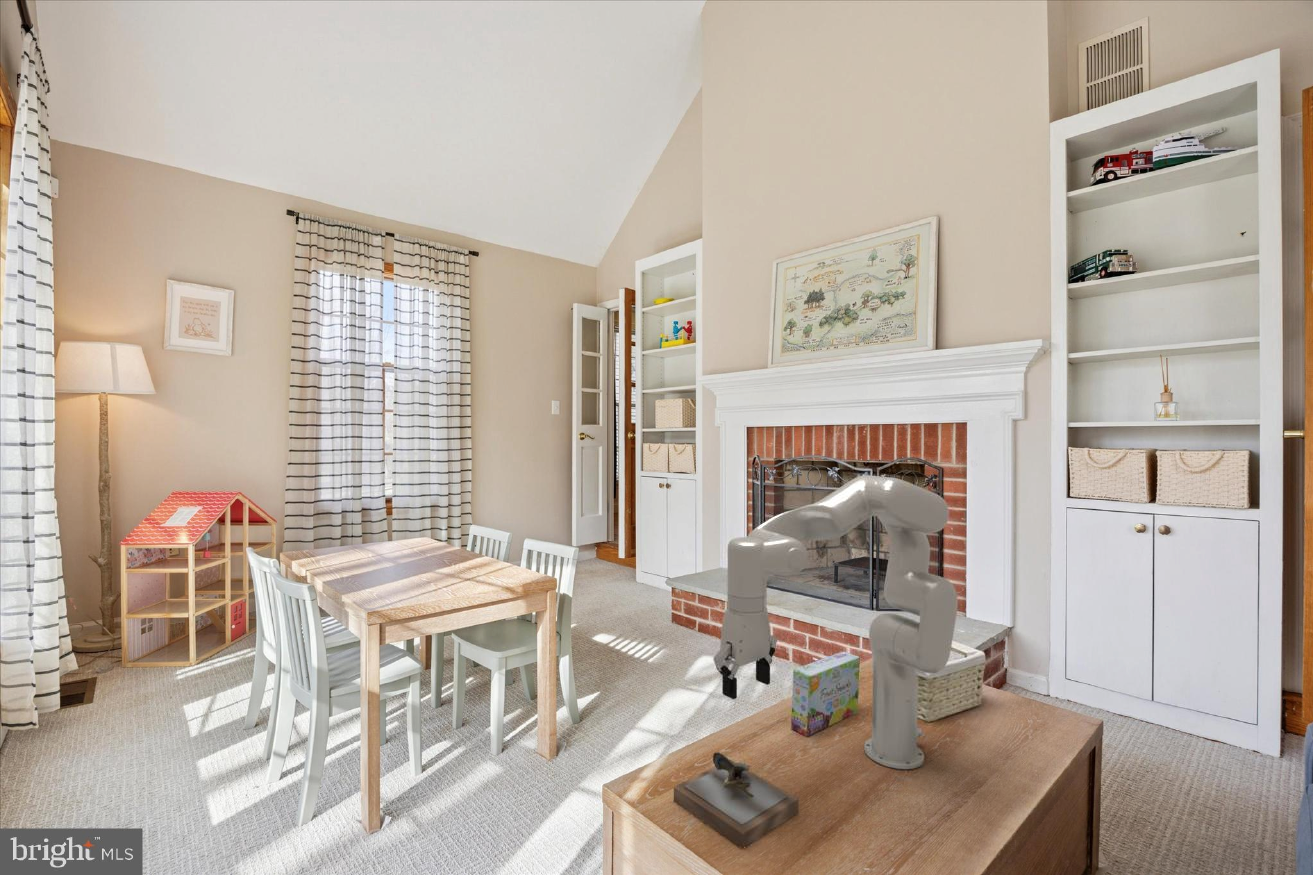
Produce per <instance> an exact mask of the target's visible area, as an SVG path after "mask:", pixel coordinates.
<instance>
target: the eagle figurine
mask: <svg viewBox="0 0 1313 875" xmlns="http://www.w3.org/2000/svg"><path fill="white" fill-rule="evenodd" d="M729 759H730V758H728V757H727V756H725V755H724V754H722V753H720V752H714V753H713V755H712V761H713V762H712V763H713V765H714V767H716V768H717V770H722V769H723V770H726V771H728V773H729V775H728V778H727V779H726V780H725V781H724V785H723V787H724V786H725V785H731V786H733V787H734V786H735V787H738V788H741V789H742V790H743V791H744V792H745V793H746V794H747V795H749V796H752V797H753V795H752V794H751V793H749V792H748V791H747V790H746V789H745V788H747V787H749V786H750V784H751V783H746V782H745V783H742V782H743V780H744V779H746V778H747V777H746V776H743V777H742V776H741V774H742V772H743V771H747V770H749V771H750V769H751V766H750V765H748V764H746V763H744V762H743V763H742V762H735V763H734V764H733V763H732V762H731V761H730V760H731V759H730V760H729Z"/></svg>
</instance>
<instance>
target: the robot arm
mask: <svg viewBox="0 0 1313 875" xmlns="http://www.w3.org/2000/svg"><path fill="white" fill-rule="evenodd" d="M870 517H876V518H877V519H878V520H879V521H880V523H881V524H882V526H883V527H884V529H885V530H886V533H887V536H888V539H889V554H888V562H887V567H886V574H885V580H884V587H883V598H884V599H885V601H886V602H887V604H888V605H890V606H891V607H893V608H895V609H898V610H901V611H904V612H906V613H909V614H913V615H915V616H917V617H919V621H916V620H914V619H911V618H909V617H906V616H903V615H899V614H896V613H890V612H889V613H888V612H887V613H882V614H879V615H878V616H876V617H875V618H874V619H873V620H872V622H871V623H870V627H869V630H868V639H869V646H870V649H871V650H870V651H871V656H872V703H871V704H872V710H871V712H872V713H871V714H872V715H871V737H870V738H868V739H866V741H865V742H864V752H865V754H866V755H867V756H868V757H869V758H870V759H871V760H873V762H875V763H878V764H880V765H883V766H885V767H888V768H892V769H898V770H913V769H916V768H919V767H920V766H922V765H924V762H925V755H924V752H923V750H922V749H921V748H920V747H919V746H918V744H917V743H918V739H919V738H920V737H921V736H923V735H924V731H923V729H922V728H921V727H918V718H917V713H918V677H917V673H916V669H918V670H921V671H923V672H926V673H937V672H940V671H941V670H942V669H943V668H944V667H945V665H946V664H947V662H948V659H949V658H950V655H951V646H952V641H954V640H953V639H954V633H955V627H956V620H957V615H958V606H959V605H958V604H959V600H958V594H957V590H956V588H955V586H954V585H953V583H952V582H951V581H950V580H948V579H947V578H945V577H942V576H939V575H936V574H932V573H930V572H929V567H930V558H931V556H930V555H931V546H930V542H929V539H928V536H927V534H935V533H938V532H940V531H942V530H943V529H944V528H945V527H946V525H947V524H948V521H949V518H950V508H949V506H948V504H947V502H946V500H945V499H944V498H943V497H941V495H939V494H937V493H935V492H932V491H930V490H928V489H925V488H924V487H920V486H918V485H915V484H913V483H911V482H909V481H906V480H903V479H900V478H896V477H889V476H888V477H887V476H880V475H879V476H878V475H868V474H867V475H865V474H864V475H860V476H856V477H854V478H853V479H851V480H849V481H848V482H847V483H845V484H843V485H842V486H840V487H839V488H837V489H835V490H834V491H833V492H831V493H830V494H828V495H826V496H825V497H823V498H822V499H820V500H819V501H816V502H814V503H811V504H806V505H804V506H800V507H797V508H795V509H792V510H789V511H785V512H782V513H780V514H777V515H774V516H772V517H771V518H770V519H767V520H766V521H764V522H763V523H761V524H760V525H758V526H756V528H754V529H752V530H751V531H750V533H749V534H748V535H747V536H746V537H745V536H744V537H743V536H742V537H736V538H731V540H730V541H729V542H728V543H727V594H726V595H727V598H726V600H727V609H726V610H724V613H723V617H722V618H723V619H722V623H721V632H720V646H719V647H720V650H718V652H717V653H716V654H715V656H714V657H713V659H712V660H713V661H714V664H715V666H716V670H717V671H718V672H719V675H720V676H721V677H722V678H721V679H722V687H721V689H722V695H723V696H725V697H727V698H730V699H731V700H736V699H737V698H738V679H737V677H736V674H737V673H738V670H739V668H740V667H743V666H746V665H748V664H750V663H754V662H755V681H757V682H759V683H762V684H764V685H766V686H769V685H770V684H771V664H772V663H773V656H774V655H775V652H776V649H775V648H776V646H777V643H778V638H777V636H774V635H772V634H771V627H770V617H769V611H768V607H767V596H768V594H767V593H768V590H767V588H768V587H767V584H768V581H767V578H768V576H783V577H784V576H792V575H796V574H798V573H800V572H801V571H802V570H803V569H804V568H806V565H807V563H808V561H809V560H808V559H809V558H808V557H809V555H808V550H807V549H806V546H805V545H804V544H803V543H804V542H810V541H811V542H812V541H826V540H827V541H828V540H834V539H838V538H841V537H843V536H844V535H846V534H847V533H848V532H850V531H851V530H852V529H855V528H856V527H857V526H859V525H860V524H862V523H863V522H865V521H866V520H867V519H869V518H870ZM730 665H732V666H731V668H730ZM729 668H730V669H729ZM915 668H916V669H915Z"/></svg>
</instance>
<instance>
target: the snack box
mask: <svg viewBox="0 0 1313 875" xmlns="http://www.w3.org/2000/svg"><path fill="white" fill-rule="evenodd" d="M860 661H861V656H857V655H854V654H852V653H849V652H847V651H841V652H837V653H835V654H832V655H829V656H826V657H824V658H821V659H818V660H816V661H813V662H811V663H808V664H805V665H802V666H799V667H797V668H794V669H793V672H792V673H793V674H792V694H791V695H792V697H791V698H792V699H791V720H790V721H791V722H790V723H791V725H790V729H791V730H794V731H796V732H797V733H799V734H801V735H803V736H804V737H809V736H812V735H813V734H815V733H818V732H821V731H822V730H824V729H826V728H828V727H831V726H833V725H835V724H837V723H839V722H840V721H843V719H844V720H845V719H847V718H849V717H852V716H854V715H856V714H858V712H859V689H860V687H859V685H860V663H861V662H860Z"/></svg>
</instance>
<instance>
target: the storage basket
mask: <svg viewBox="0 0 1313 875" xmlns="http://www.w3.org/2000/svg"><path fill="white" fill-rule="evenodd" d="M951 651H952V652H954V653H958V654H960V655H962V656H966V657H962V658H958V659H954V658H951V657H949V659H948V662H947V664H946V665H945V667H944V668H943V669H942V670H941V671H940V672H937V673H926V672H923V671H921V670H918V669H916V668H915V669H916V673H917V677H918V713H917V719H920V720H922V721H925V722H930V723H931V722H933V721H937V720H939V719H943V718H945V717H949V716H950V715H954V714H957V713H959V712H963V711H965V710H969V709H973V708H975V707H977V706H980V705H981V704H982V697H983V696H982V695H983V693H982V692H983V685H984V675H985V669H986V662H987V661H986V659H987V658H986V653H985V652H984V651H983V650H980V649H976V648H973V647H971V646H968V645H966V644H963V643H959V642H957V641H955V640H952V646H951Z"/></svg>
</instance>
